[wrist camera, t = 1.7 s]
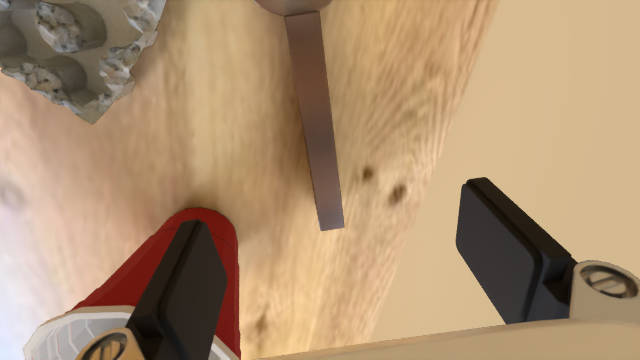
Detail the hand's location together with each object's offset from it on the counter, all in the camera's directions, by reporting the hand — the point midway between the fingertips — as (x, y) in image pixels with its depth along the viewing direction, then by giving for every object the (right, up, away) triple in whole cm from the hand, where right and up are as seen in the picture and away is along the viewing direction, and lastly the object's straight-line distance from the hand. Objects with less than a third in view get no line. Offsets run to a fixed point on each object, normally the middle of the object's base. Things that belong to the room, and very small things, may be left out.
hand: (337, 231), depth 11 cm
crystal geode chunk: (-13, +12, +6) cm, 19 cm away
